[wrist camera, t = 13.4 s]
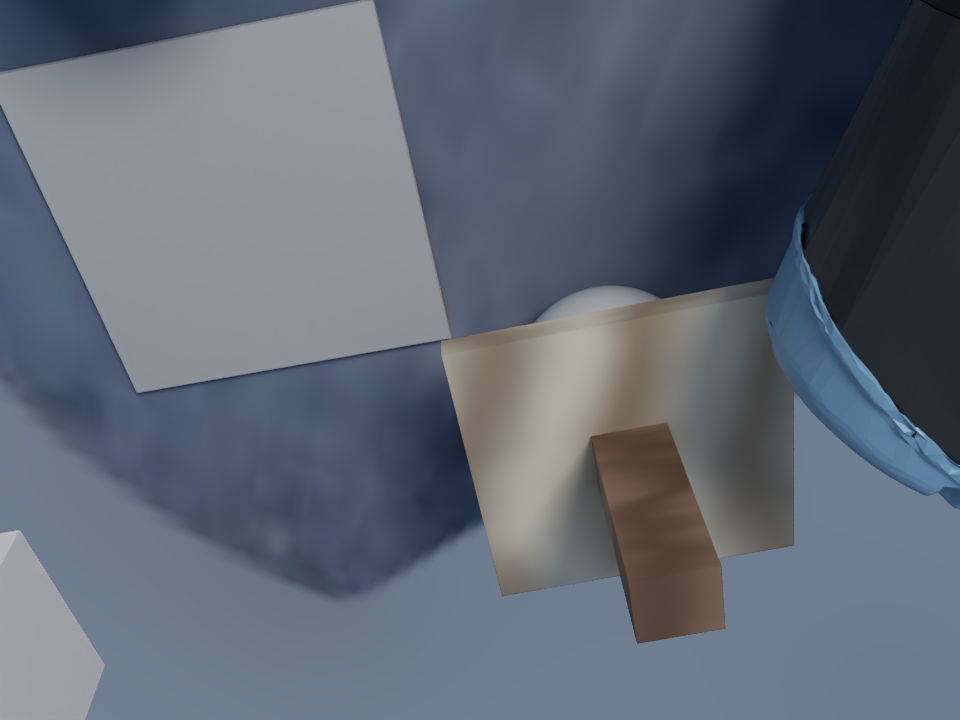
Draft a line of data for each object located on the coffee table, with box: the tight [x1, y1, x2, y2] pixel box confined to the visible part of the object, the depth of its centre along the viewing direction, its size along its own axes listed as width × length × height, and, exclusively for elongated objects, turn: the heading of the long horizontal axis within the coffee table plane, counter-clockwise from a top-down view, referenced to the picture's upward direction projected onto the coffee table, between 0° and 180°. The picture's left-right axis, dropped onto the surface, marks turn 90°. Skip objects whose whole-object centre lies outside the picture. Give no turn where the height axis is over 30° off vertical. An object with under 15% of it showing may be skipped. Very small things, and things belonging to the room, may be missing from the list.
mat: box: [0, 0, 451, 393], centre depth 47 cm, size 18×18×1 cm
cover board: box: [441, 278, 794, 643], centre depth 40 cm, size 15×15×10 cm
